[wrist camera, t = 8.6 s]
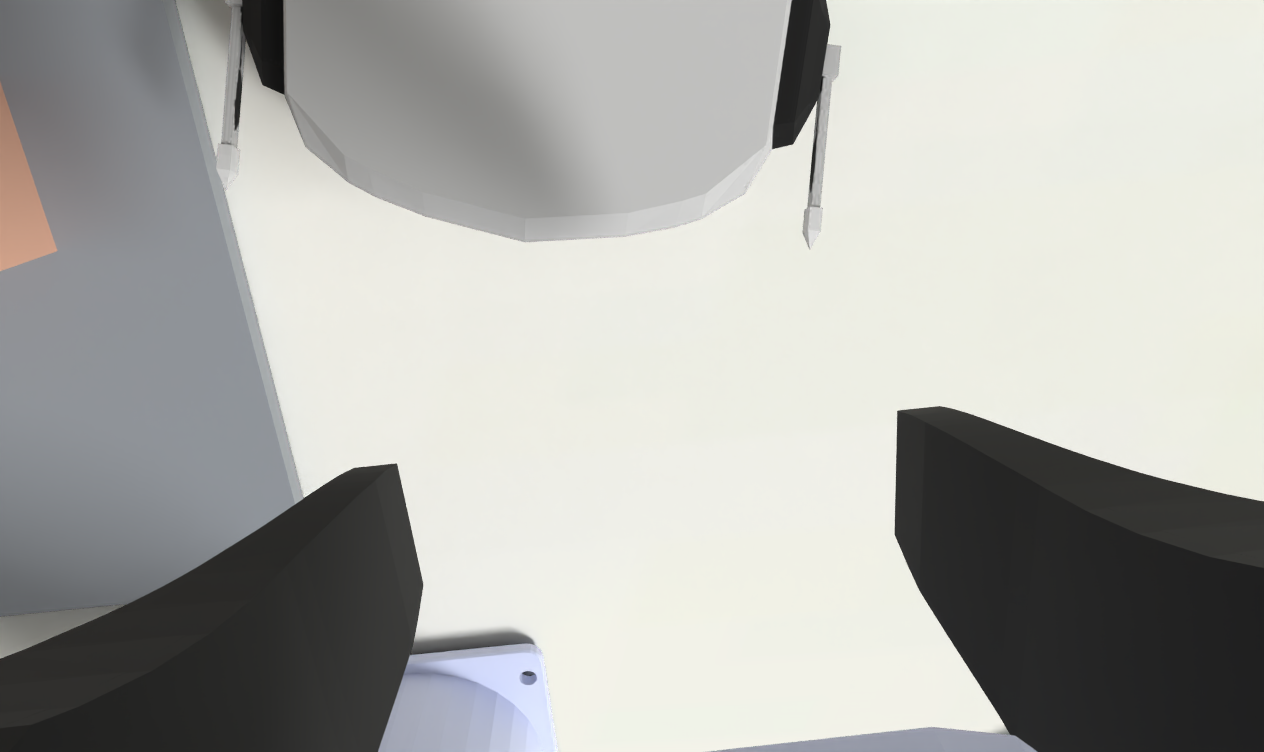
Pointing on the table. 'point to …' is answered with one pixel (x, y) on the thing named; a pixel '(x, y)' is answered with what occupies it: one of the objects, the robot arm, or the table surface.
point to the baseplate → (125, 322)
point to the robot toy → (543, 104)
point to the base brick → (19, 201)
